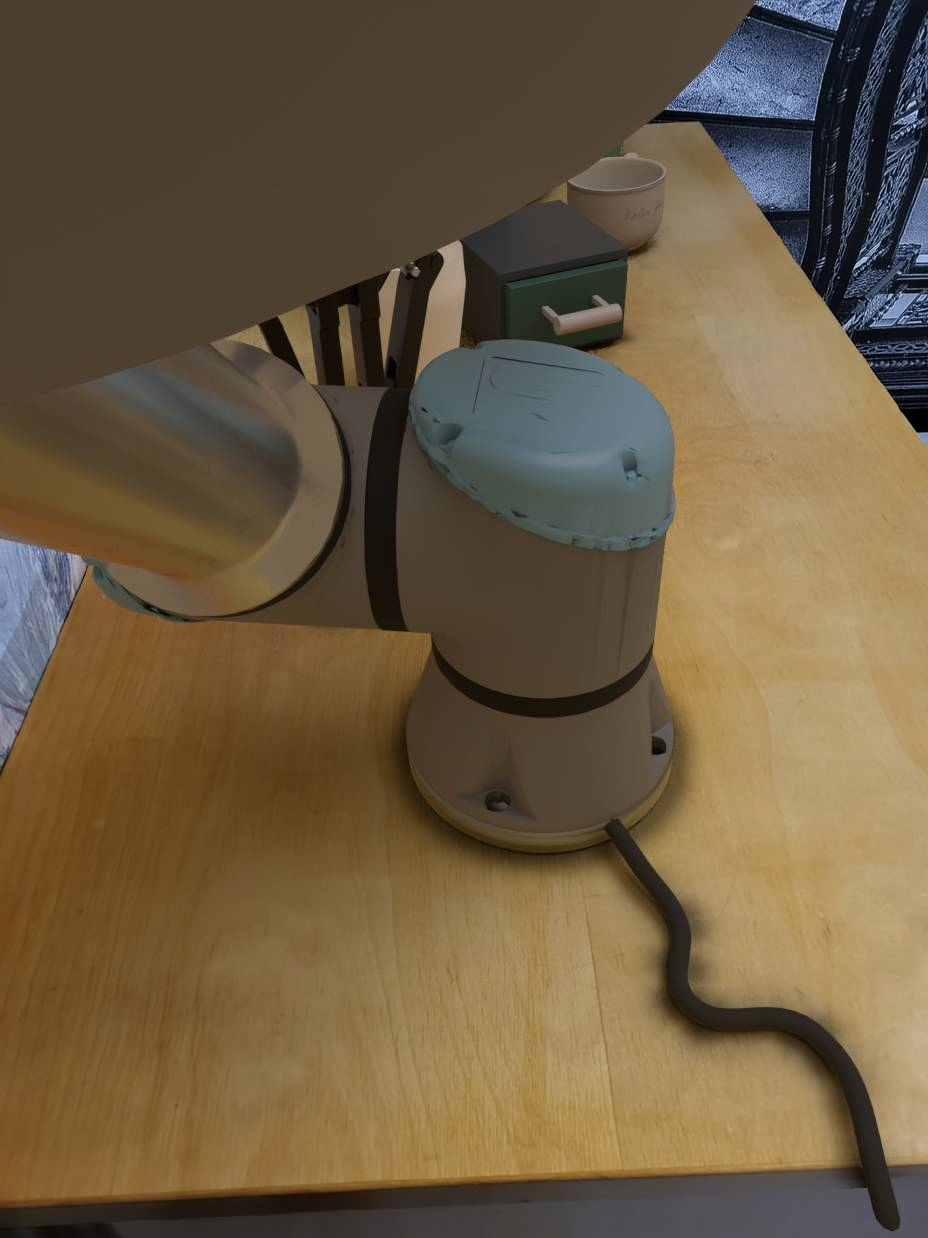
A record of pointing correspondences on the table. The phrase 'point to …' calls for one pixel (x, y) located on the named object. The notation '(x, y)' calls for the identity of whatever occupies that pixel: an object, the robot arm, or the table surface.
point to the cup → (432, 308)
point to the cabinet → (527, 259)
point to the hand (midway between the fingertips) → (365, 496)
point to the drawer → (568, 305)
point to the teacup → (621, 197)
